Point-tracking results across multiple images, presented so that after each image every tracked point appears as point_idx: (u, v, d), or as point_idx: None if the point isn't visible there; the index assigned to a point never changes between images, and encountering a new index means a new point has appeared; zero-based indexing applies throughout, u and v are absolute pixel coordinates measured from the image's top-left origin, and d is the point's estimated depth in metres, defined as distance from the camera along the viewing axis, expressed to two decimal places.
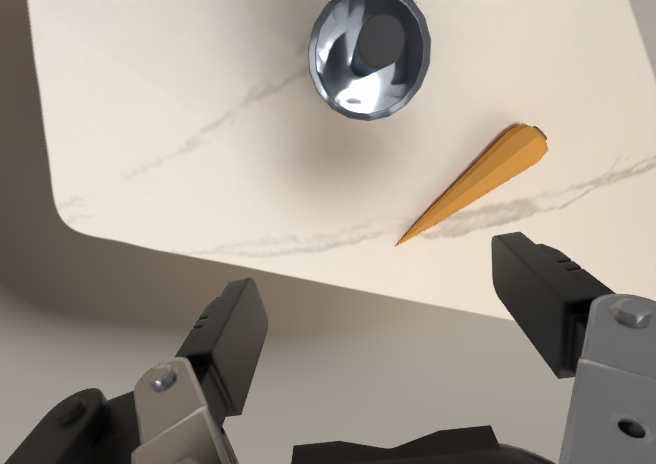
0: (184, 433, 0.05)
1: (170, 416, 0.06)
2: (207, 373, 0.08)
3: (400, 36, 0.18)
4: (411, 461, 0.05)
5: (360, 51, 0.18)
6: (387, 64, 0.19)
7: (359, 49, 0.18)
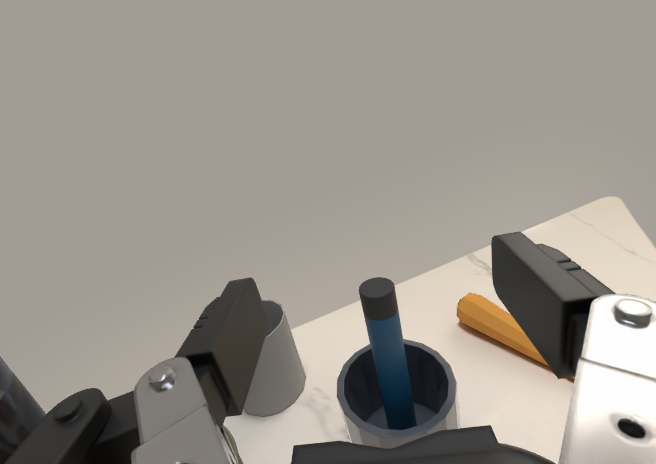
0: (184, 433, 0.05)
1: (170, 416, 0.06)
2: (207, 373, 0.08)
3: (375, 278, 0.25)
4: (411, 461, 0.05)
5: (381, 296, 0.23)
6: (392, 283, 0.24)
7: (379, 297, 0.23)
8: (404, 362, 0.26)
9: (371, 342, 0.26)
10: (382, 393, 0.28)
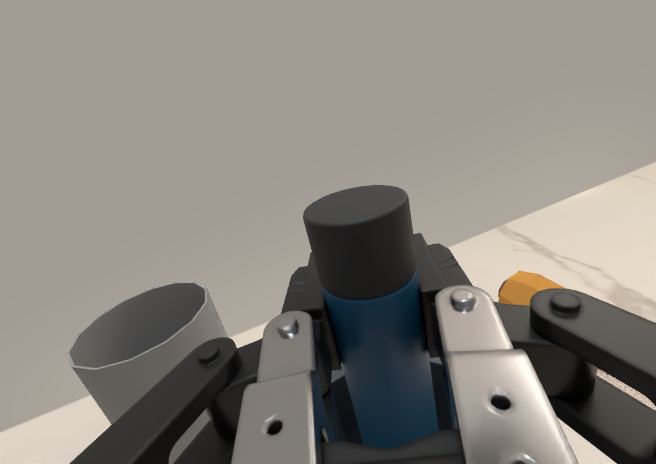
0: (286, 391, 0.06)
1: (284, 366, 0.07)
2: (320, 326, 0.09)
3: (353, 189, 0.09)
4: (411, 460, 0.05)
5: (366, 219, 0.07)
6: (402, 190, 0.08)
7: (361, 221, 0.07)
8: (432, 416, 0.10)
9: (344, 365, 0.09)
10: None
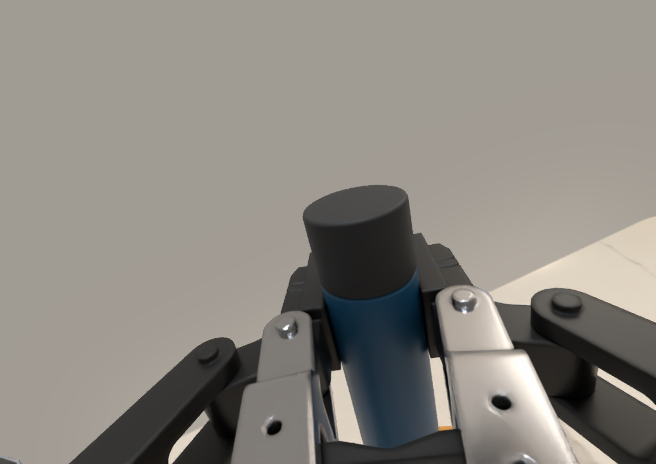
0: (286, 391, 0.06)
1: (283, 365, 0.07)
2: (319, 327, 0.09)
3: (353, 189, 0.09)
4: (411, 461, 0.05)
5: (366, 219, 0.07)
6: (402, 190, 0.08)
7: (361, 221, 0.07)
8: (432, 416, 0.10)
9: (344, 365, 0.09)
10: None
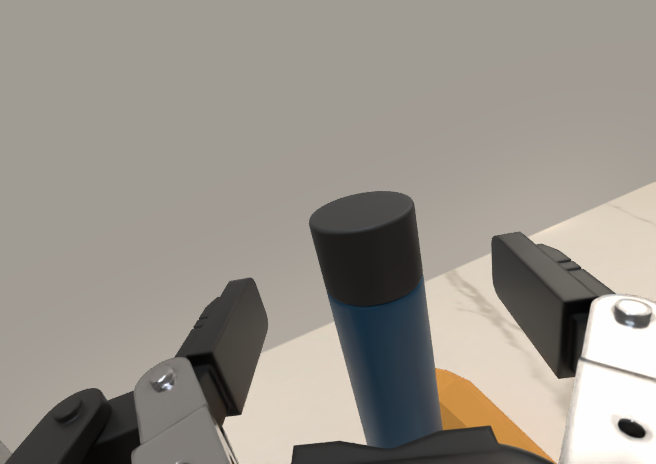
0: (184, 433, 0.05)
1: (170, 416, 0.06)
2: (207, 373, 0.08)
3: (358, 195, 0.09)
4: (411, 460, 0.05)
5: (373, 227, 0.07)
6: (408, 197, 0.08)
7: (368, 229, 0.07)
8: (437, 421, 0.10)
9: (349, 370, 0.09)
10: None
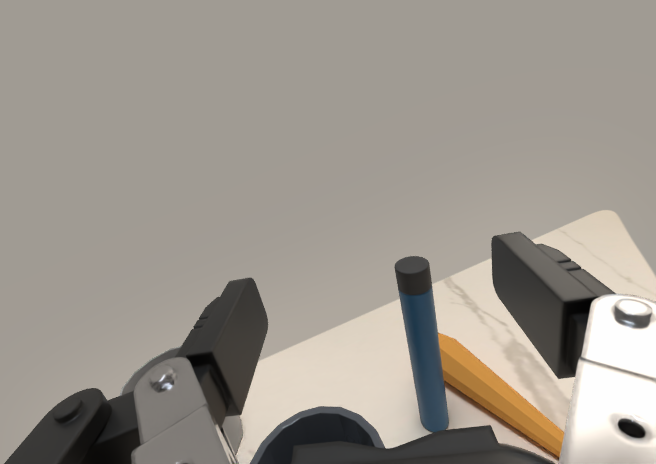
0: (184, 433, 0.05)
1: (170, 416, 0.06)
2: (207, 373, 0.08)
3: (409, 257, 0.26)
4: (411, 460, 0.05)
5: (417, 272, 0.24)
6: (427, 260, 0.25)
7: (416, 272, 0.24)
8: (437, 338, 0.27)
9: (405, 318, 0.27)
10: (414, 369, 0.29)
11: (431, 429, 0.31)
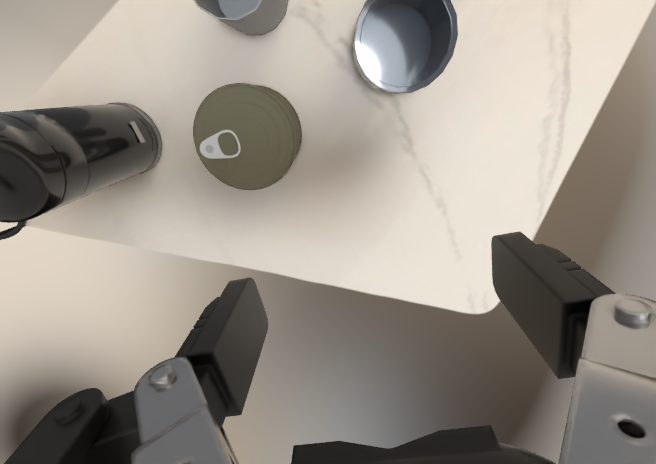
0: (184, 433, 0.05)
1: (170, 416, 0.06)
2: (207, 373, 0.08)
3: None
4: (411, 460, 0.05)
5: None
6: None
7: None
8: None
9: None
10: None
11: None
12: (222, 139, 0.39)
